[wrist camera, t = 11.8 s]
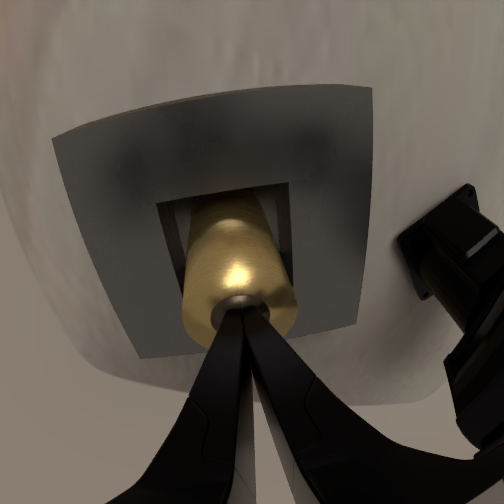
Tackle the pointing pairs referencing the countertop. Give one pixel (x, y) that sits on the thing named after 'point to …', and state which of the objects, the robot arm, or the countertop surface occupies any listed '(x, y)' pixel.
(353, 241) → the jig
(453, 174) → the countertop surface
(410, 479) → the robot arm
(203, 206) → the bushing
